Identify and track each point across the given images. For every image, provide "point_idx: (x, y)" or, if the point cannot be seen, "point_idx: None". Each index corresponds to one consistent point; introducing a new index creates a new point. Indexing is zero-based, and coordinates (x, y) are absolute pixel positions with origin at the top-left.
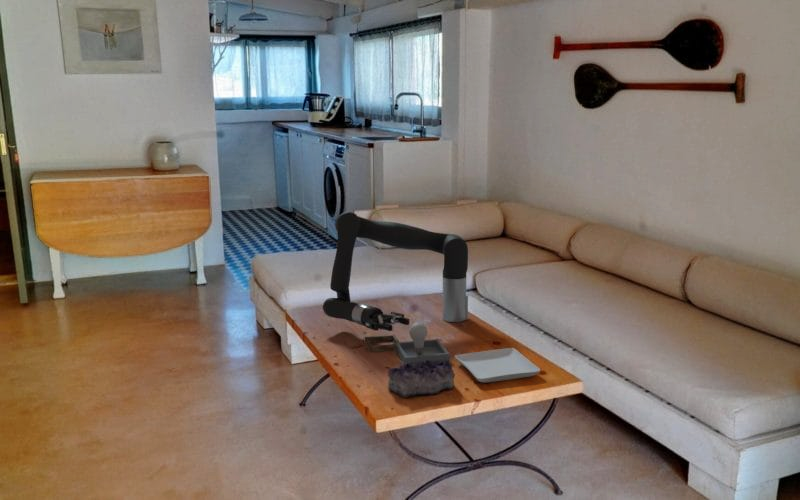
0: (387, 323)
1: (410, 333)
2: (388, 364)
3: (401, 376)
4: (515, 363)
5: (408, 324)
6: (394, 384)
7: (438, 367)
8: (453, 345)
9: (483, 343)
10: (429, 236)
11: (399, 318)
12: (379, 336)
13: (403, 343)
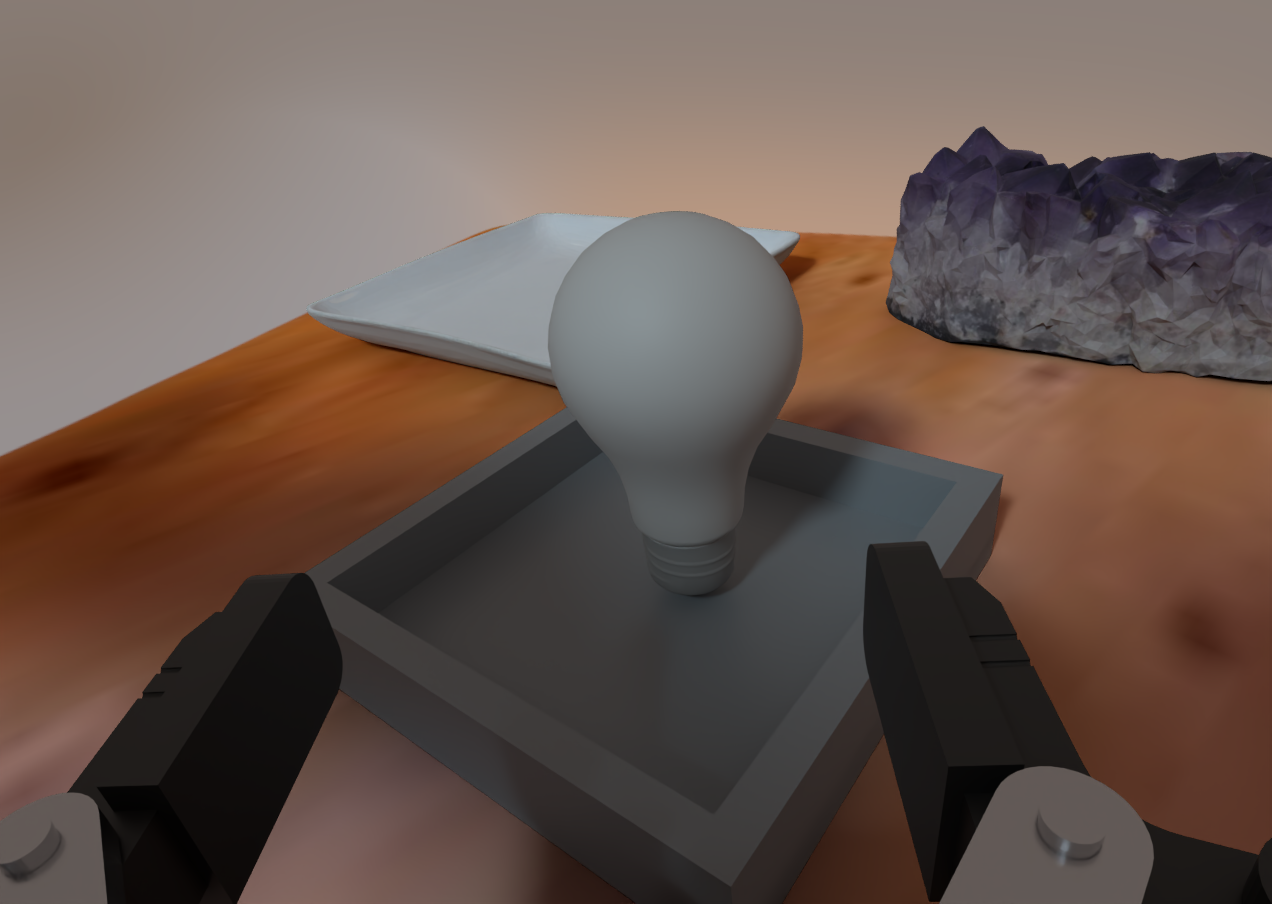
0: (914, 654)
1: (799, 351)
2: (1149, 687)
3: None
4: (457, 297)
5: (330, 655)
6: None
7: (1035, 154)
8: (203, 610)
9: (96, 509)
10: None
11: (128, 874)
12: None
13: (652, 782)
